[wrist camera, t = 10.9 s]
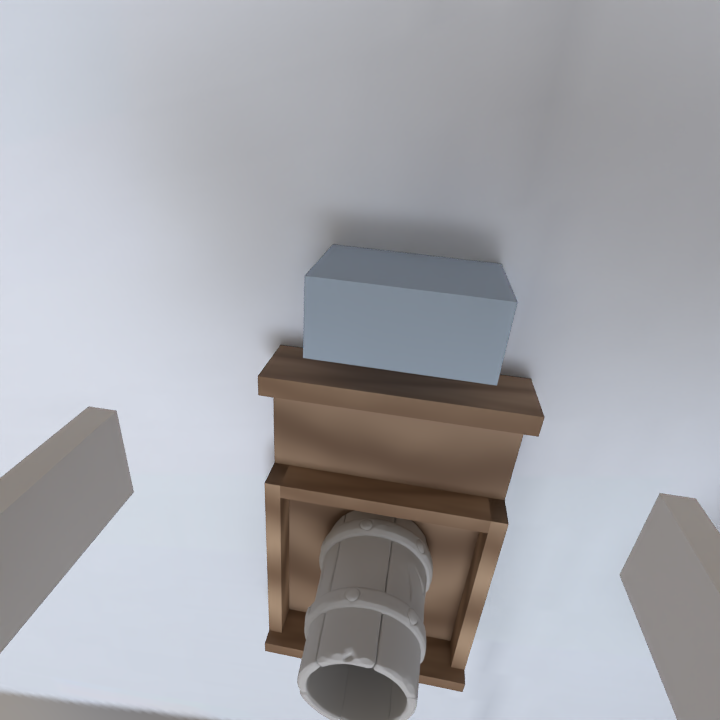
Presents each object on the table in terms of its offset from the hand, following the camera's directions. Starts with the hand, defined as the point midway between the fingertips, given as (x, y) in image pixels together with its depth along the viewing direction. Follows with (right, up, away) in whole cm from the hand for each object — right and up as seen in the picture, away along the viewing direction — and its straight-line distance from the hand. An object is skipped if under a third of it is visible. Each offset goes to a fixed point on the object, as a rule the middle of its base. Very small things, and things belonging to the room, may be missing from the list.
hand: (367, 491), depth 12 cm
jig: (+2, -7, +22) cm, 23 cm away
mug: (+2, -11, +22) cm, 25 cm away
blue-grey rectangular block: (+3, +7, +14) cm, 16 cm away
